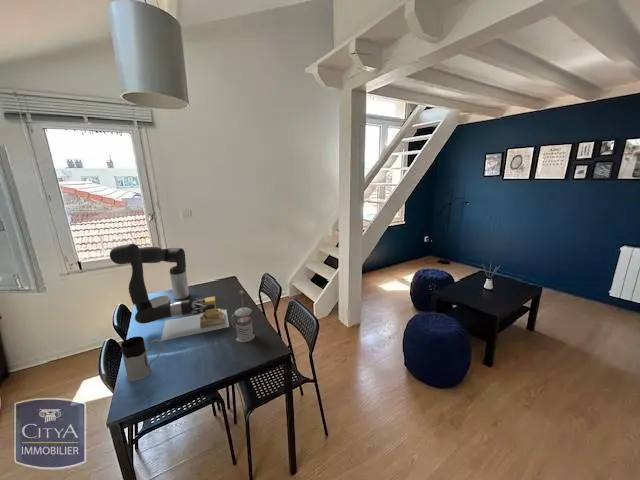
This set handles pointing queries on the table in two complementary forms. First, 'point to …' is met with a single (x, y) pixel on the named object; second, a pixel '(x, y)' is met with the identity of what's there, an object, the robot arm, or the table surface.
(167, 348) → the table surface
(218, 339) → the table surface
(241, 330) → the french press
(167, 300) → the teacup
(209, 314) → the ochre pillar
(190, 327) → the white rectangular board
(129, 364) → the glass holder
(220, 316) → the beech base slab
